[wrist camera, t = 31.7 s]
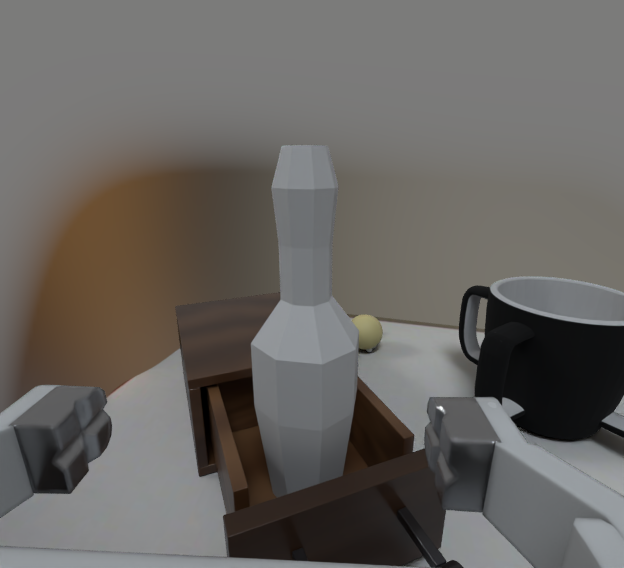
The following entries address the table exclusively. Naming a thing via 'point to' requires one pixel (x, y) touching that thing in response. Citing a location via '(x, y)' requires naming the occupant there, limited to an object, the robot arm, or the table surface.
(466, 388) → the table surface
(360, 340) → the toy figure
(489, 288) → the mug
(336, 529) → the drawer
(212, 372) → the cabinet
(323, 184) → the faceted bottle
